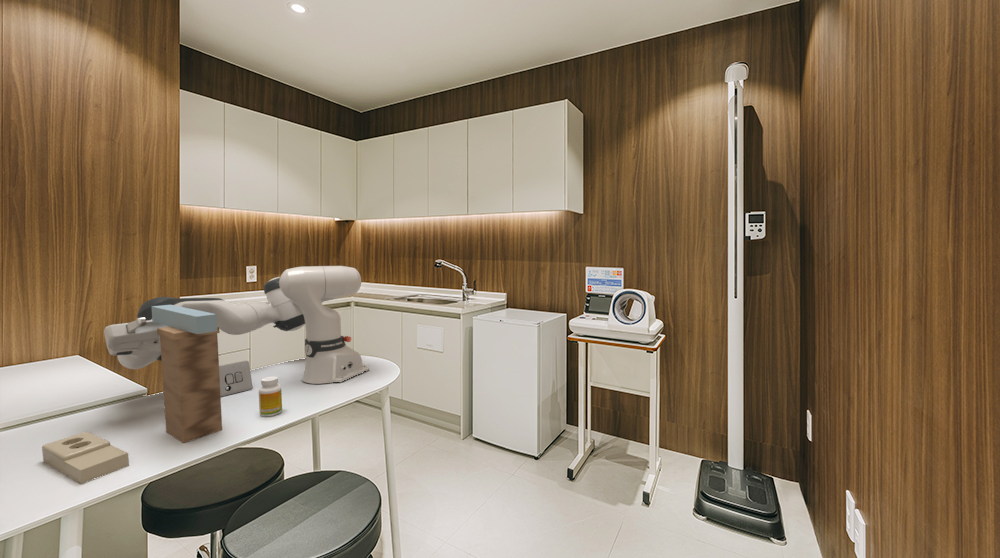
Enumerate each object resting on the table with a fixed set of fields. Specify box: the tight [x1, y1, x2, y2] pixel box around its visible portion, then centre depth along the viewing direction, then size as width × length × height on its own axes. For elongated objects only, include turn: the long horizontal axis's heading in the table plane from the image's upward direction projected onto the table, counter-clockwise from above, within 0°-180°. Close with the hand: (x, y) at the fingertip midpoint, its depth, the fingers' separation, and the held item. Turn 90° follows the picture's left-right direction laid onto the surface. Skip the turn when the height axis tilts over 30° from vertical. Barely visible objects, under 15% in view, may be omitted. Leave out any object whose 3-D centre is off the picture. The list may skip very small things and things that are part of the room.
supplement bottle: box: [258, 376, 283, 417], centre depth 108 cm, size 5×5×10 cm
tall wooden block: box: [157, 326, 223, 444], centre depth 97 cm, size 9×10×26 cm
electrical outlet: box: [41, 431, 130, 485], centre depth 83 cm, size 7×4×18 cm
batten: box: [151, 305, 217, 334], centre depth 97 cm, size 4×26×4 cm, turn 58°
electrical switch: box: [219, 360, 253, 397], centre depth 124 cm, size 9×5×9 cm, turn 141°
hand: (165, 317), depth 102 cm, fingers open, 8 cm apart
